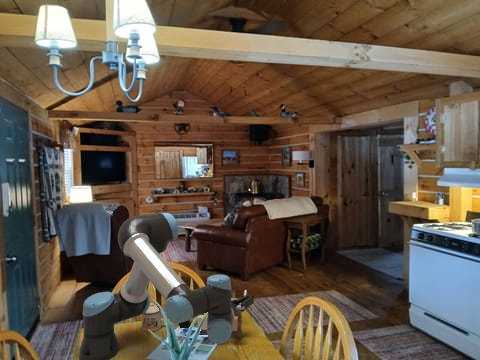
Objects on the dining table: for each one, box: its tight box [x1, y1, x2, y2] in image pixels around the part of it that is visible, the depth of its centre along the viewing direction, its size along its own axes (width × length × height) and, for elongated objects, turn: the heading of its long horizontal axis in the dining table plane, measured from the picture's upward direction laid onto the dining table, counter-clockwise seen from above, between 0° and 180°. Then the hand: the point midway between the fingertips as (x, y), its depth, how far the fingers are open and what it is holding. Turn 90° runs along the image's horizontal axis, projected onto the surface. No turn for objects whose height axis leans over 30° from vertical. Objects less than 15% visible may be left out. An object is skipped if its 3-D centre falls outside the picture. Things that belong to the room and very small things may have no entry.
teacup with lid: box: [141, 302, 165, 333], centre depth 166 cm, size 12×9×12 cm
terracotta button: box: [232, 316, 238, 331], centre depth 153 cm, size 4×8×5 cm, turn 175°
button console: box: [199, 297, 243, 340], centre depth 159 cm, size 19×6×17 cm, turn 85°
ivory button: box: [197, 314, 208, 330], centre depth 154 cm, size 4×8×5 cm, turn 175°
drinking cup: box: [178, 319, 191, 329], centre depth 167 cm, size 8×8×20 cm
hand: (229, 293), depth 143 cm, fingers open, 13 cm apart
